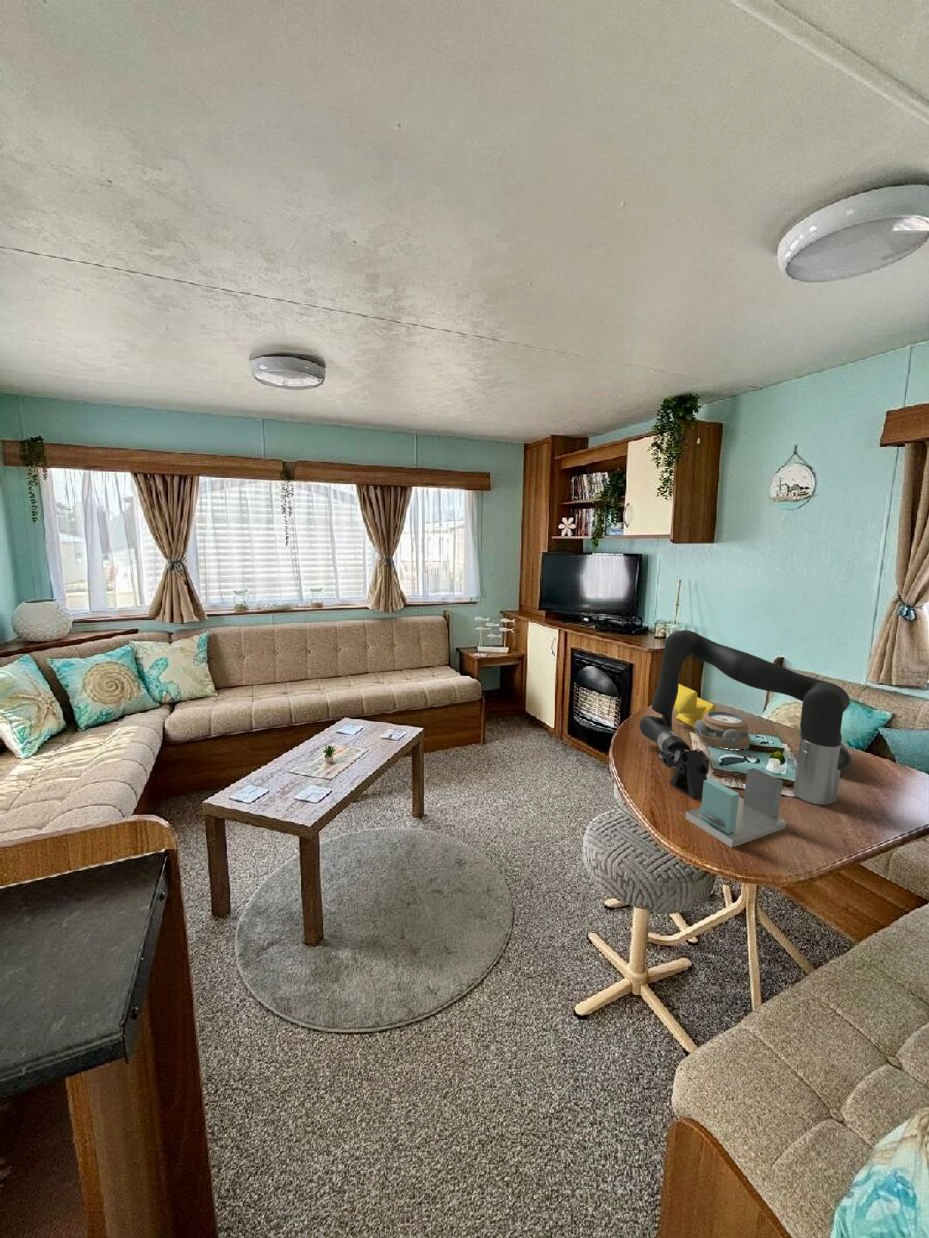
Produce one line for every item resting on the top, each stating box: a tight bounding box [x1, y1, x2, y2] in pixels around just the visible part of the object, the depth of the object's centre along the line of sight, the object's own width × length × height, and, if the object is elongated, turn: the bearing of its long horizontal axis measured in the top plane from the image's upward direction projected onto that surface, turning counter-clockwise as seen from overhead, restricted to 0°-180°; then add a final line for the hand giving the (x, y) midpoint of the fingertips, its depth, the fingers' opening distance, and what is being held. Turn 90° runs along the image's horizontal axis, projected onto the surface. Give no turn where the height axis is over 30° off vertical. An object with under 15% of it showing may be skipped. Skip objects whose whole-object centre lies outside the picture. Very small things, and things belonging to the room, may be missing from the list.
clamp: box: [673, 683, 720, 728], centre depth 196 cm, size 14×25×12 cm
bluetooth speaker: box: [799, 728, 852, 772], centre depth 164 cm, size 23×9×10 cm, turn 160°
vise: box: [685, 767, 787, 849], centre depth 127 cm, size 14×20×12 cm
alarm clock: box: [692, 710, 751, 749], centre depth 178 cm, size 17×9×23 cm
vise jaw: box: [700, 778, 740, 834], centre depth 122 cm, size 8×4×10 cm, turn 25°
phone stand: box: [669, 748, 708, 799], centre depth 144 cm, size 9×6×12 cm, turn 21°
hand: (695, 770), depth 141 cm, fingers closed on phone stand, 6 cm apart
